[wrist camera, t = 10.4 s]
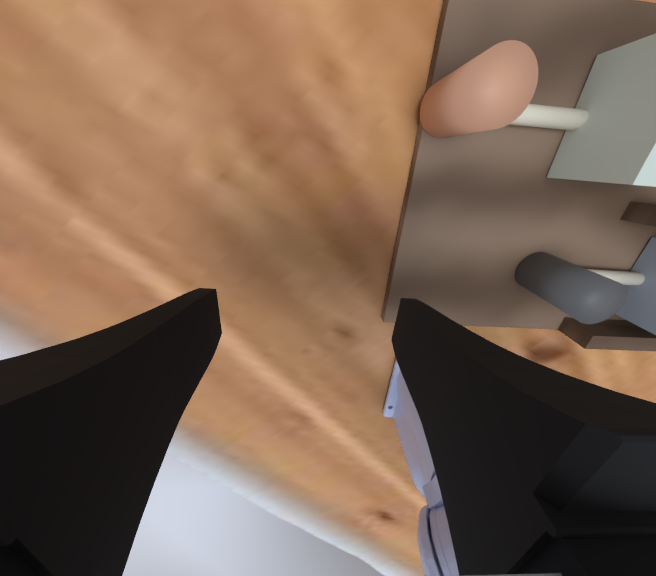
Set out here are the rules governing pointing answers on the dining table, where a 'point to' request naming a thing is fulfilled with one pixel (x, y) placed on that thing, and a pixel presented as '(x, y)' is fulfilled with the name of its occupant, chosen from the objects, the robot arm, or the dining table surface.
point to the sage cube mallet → (559, 109)
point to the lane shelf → (519, 180)
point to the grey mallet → (595, 288)
